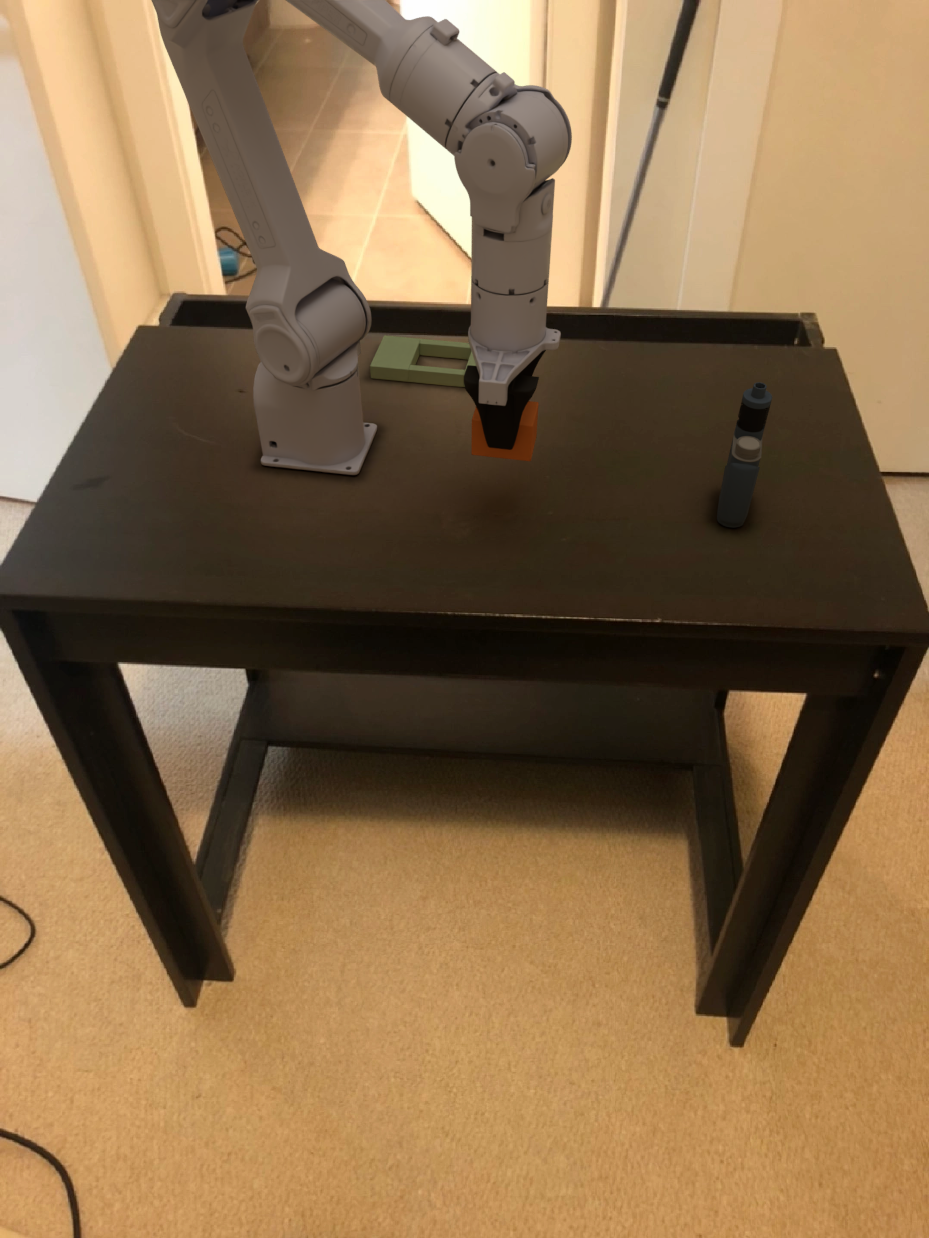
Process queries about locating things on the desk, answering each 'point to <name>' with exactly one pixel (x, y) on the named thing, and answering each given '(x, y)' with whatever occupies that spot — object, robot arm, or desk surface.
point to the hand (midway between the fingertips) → (504, 432)
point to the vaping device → (744, 457)
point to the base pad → (403, 353)
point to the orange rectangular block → (523, 439)
